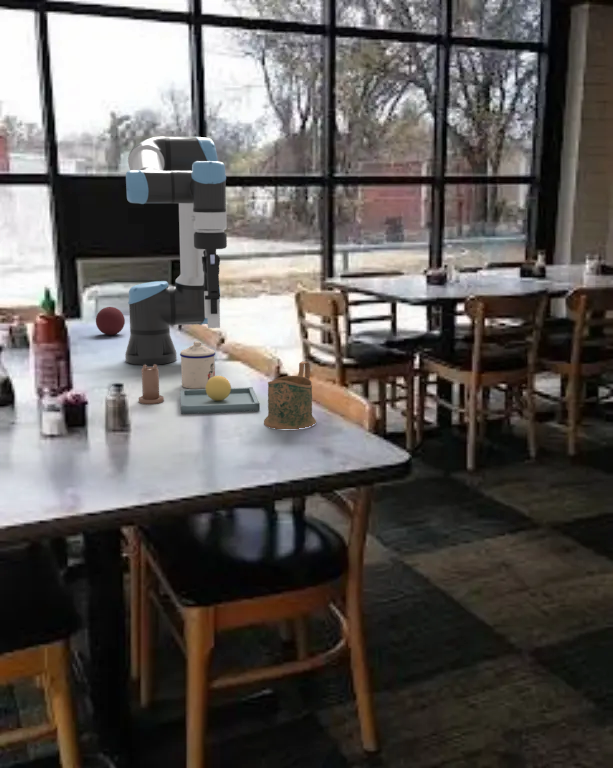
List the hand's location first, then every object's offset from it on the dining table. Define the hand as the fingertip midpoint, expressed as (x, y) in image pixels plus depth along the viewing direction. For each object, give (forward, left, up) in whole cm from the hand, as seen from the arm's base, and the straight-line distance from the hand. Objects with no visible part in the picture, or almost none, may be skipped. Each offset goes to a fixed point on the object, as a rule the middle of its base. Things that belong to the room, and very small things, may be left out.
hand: (212, 322), depth 188 cm
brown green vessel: (+18, +17, -20) cm, 31 cm away
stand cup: (-3, -15, -19) cm, 25 cm away
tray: (+2, +1, -19) cm, 20 cm away
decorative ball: (-99, -31, -20) cm, 106 cm away
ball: (+1, +1, -16) cm, 16 cm away
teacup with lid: (-19, -3, -20) cm, 28 cm away
